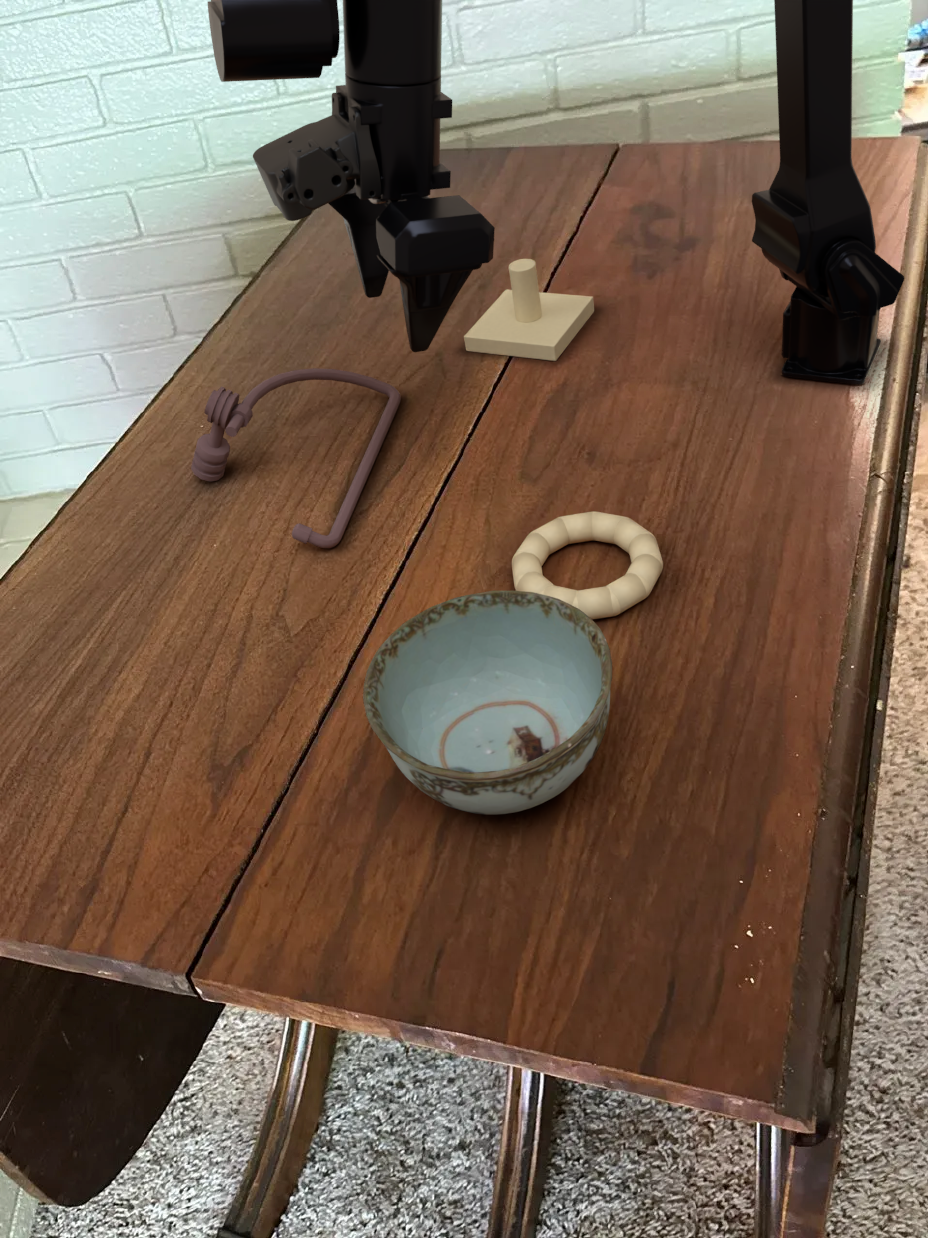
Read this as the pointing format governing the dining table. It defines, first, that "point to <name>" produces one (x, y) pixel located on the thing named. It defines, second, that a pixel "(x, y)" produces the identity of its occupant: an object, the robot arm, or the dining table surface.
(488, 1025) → the dining table surface
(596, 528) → the ring
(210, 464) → the toilet paper hanger
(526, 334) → the peg stand
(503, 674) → the bowl
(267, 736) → the dining table surface
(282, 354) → the dining table surface
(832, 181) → the robot arm
